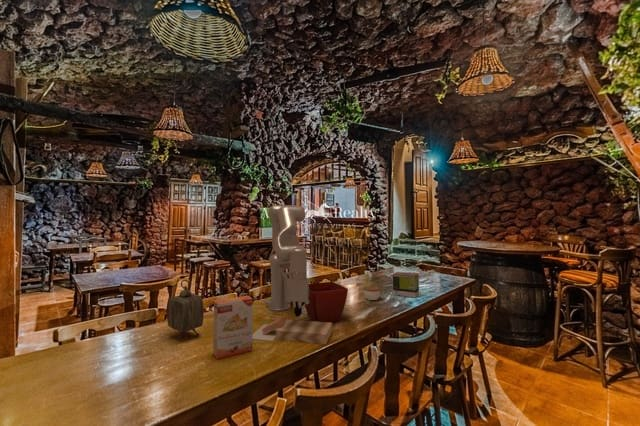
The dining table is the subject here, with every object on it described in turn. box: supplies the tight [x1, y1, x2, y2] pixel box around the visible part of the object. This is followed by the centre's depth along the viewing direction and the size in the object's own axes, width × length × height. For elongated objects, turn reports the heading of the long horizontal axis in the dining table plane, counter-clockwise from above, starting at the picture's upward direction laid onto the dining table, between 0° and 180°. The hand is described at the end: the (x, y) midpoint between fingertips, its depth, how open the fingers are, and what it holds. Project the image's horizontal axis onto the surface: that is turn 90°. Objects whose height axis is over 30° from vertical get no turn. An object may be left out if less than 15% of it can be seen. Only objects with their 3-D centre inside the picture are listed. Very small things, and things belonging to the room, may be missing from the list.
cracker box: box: [212, 295, 254, 360], centre depth 117 cm, size 14×6×21 cm, turn 122°
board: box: [275, 318, 333, 345], centre depth 133 cm, size 22×14×4 cm, turn 78°
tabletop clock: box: [166, 279, 204, 339], centre depth 133 cm, size 14×9×25 cm, turn 56°
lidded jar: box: [363, 284, 381, 301], centre depth 190 cm, size 11×11×9 cm
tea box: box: [392, 271, 420, 299], centre depth 201 cm, size 15×10×15 cm, turn 58°
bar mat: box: [253, 323, 278, 342], centre depth 137 cm, size 11×18×1 cm, turn 168°
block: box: [262, 316, 286, 335], centre depth 135 cm, size 9×6×2 cm, turn 78°
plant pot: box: [304, 281, 349, 323], centre depth 155 cm, size 19×19×17 cm
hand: (297, 315), depth 135 cm, fingers closed
